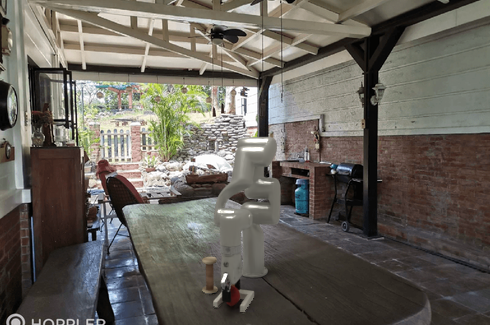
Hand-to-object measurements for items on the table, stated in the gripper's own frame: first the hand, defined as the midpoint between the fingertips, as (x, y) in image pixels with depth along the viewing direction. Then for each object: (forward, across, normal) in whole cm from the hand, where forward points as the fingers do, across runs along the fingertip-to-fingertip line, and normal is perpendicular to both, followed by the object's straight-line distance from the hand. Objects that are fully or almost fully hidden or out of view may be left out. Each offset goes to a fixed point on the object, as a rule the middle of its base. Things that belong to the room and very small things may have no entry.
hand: (231, 295), depth 124 cm
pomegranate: (+4, 0, 0) cm, 4 cm away
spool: (+4, +9, +12) cm, 16 cm away
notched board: (+4, +3, 0) cm, 5 cm away
